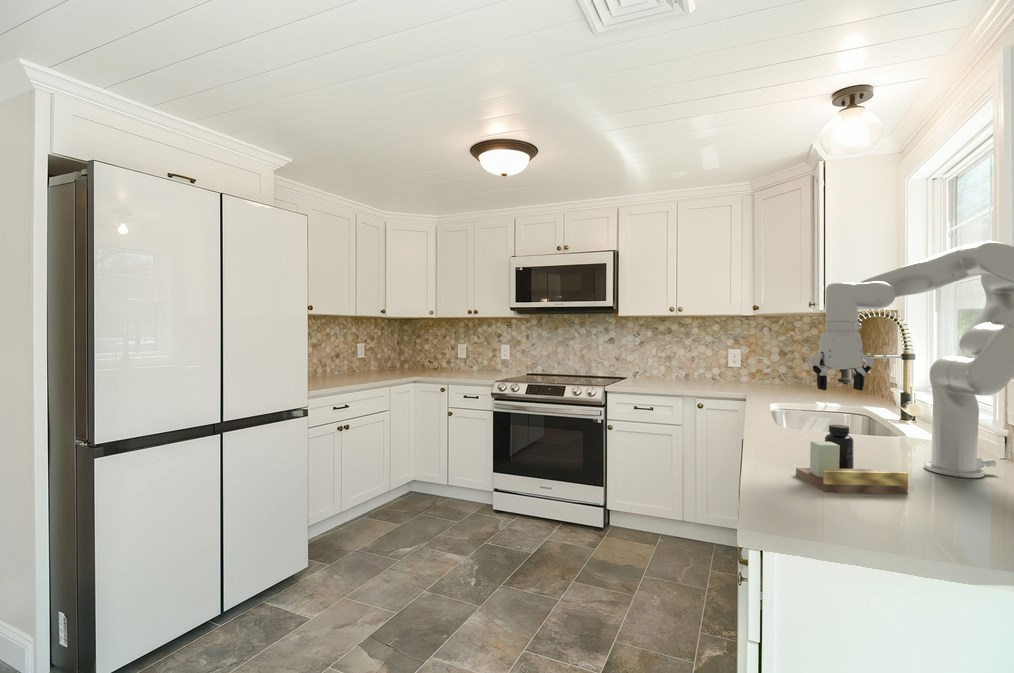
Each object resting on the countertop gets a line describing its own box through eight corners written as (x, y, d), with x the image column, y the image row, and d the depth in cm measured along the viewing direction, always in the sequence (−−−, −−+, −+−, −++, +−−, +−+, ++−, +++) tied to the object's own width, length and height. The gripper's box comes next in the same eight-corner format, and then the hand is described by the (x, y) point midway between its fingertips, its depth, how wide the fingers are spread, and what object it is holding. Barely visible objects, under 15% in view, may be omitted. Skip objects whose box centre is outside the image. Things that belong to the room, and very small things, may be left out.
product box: (829, 472, 135) (830, 441, 135) (838, 477, 131) (839, 445, 131) (809, 472, 135) (810, 441, 135) (818, 476, 131) (819, 445, 131)
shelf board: (869, 476, 138) (870, 457, 138) (907, 494, 124) (908, 473, 124) (796, 475, 139) (796, 456, 139) (825, 492, 125) (826, 471, 125)
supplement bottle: (844, 465, 149) (845, 423, 148) (858, 472, 142) (859, 428, 141) (819, 465, 149) (820, 423, 149) (831, 472, 142) (832, 428, 142)
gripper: (864, 327, 148) (863, 388, 148) (802, 327, 148) (801, 387, 149) (882, 328, 140) (881, 391, 141) (816, 328, 141) (815, 391, 141)
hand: (840, 389), depth 145 cm, fingers open, 9 cm apart
